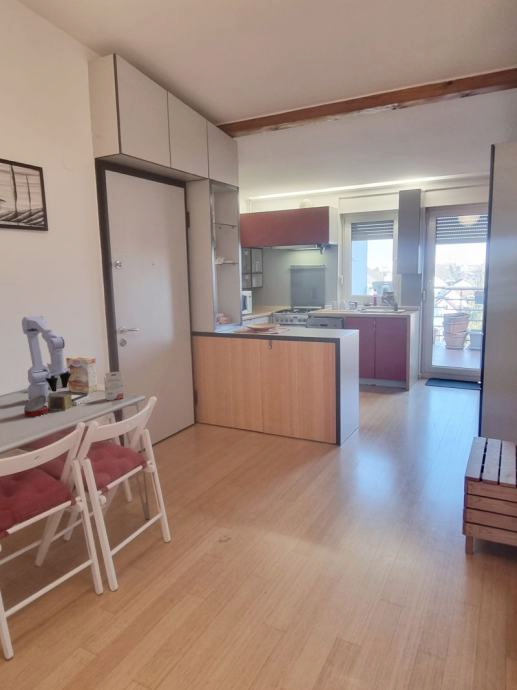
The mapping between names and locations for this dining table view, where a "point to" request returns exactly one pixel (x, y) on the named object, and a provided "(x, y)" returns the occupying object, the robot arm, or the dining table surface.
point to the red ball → (36, 407)
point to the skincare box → (59, 383)
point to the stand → (79, 398)
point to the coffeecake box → (82, 374)
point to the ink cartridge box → (113, 386)
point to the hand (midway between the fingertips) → (59, 389)
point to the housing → (59, 401)
